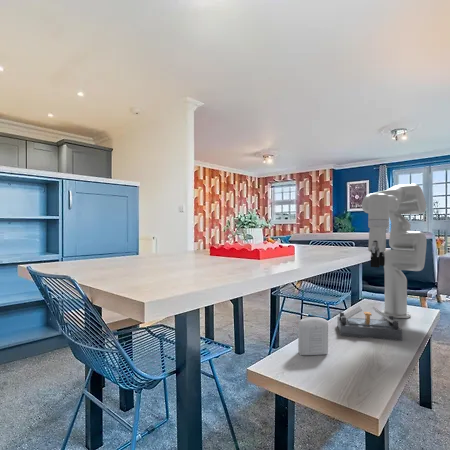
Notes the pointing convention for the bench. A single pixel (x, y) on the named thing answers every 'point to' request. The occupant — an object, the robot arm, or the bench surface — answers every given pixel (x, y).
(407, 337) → the bench surface
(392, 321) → the strap
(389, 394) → the bench surface
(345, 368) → the bench surface
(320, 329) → the photo printer
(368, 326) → the tray
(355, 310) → the strap
